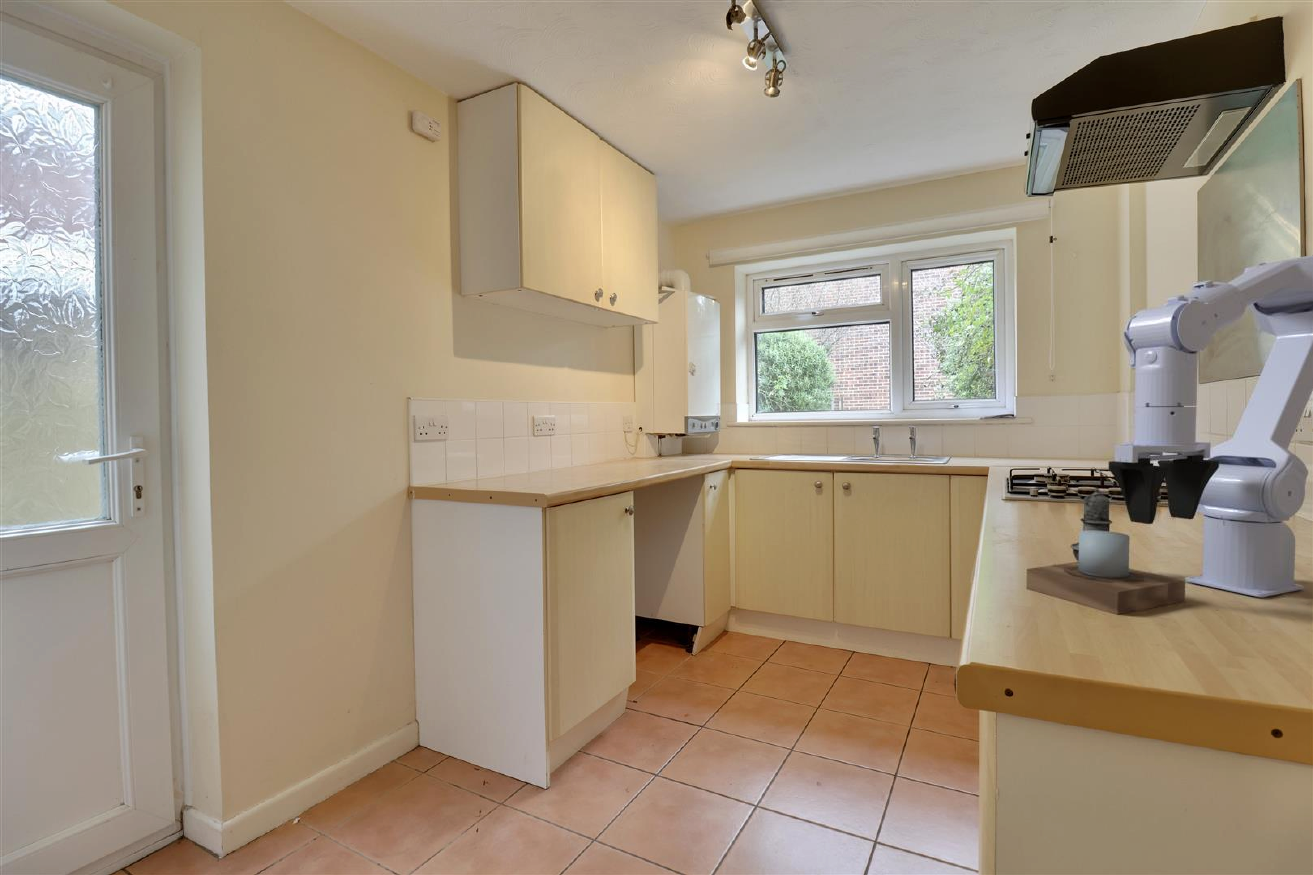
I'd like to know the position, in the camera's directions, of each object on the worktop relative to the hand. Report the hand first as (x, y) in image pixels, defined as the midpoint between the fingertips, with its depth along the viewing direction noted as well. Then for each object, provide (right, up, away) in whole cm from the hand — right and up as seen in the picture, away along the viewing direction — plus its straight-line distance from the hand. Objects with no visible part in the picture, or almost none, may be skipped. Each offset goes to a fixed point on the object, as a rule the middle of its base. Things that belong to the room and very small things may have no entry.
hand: (1162, 520), depth 74 cm
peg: (-6, -9, +2) cm, 11 cm away
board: (-6, -9, +2) cm, 11 cm away
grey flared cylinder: (0, -9, +12) cm, 15 cm away
